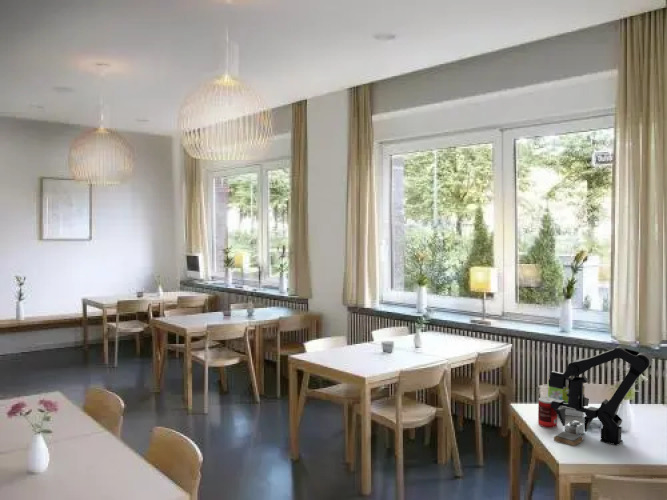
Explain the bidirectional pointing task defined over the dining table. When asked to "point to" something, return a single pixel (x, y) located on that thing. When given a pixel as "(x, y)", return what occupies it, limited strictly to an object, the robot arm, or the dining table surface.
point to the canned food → (546, 413)
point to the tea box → (562, 395)
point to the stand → (568, 438)
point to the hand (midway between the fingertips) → (574, 428)
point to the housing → (574, 427)
